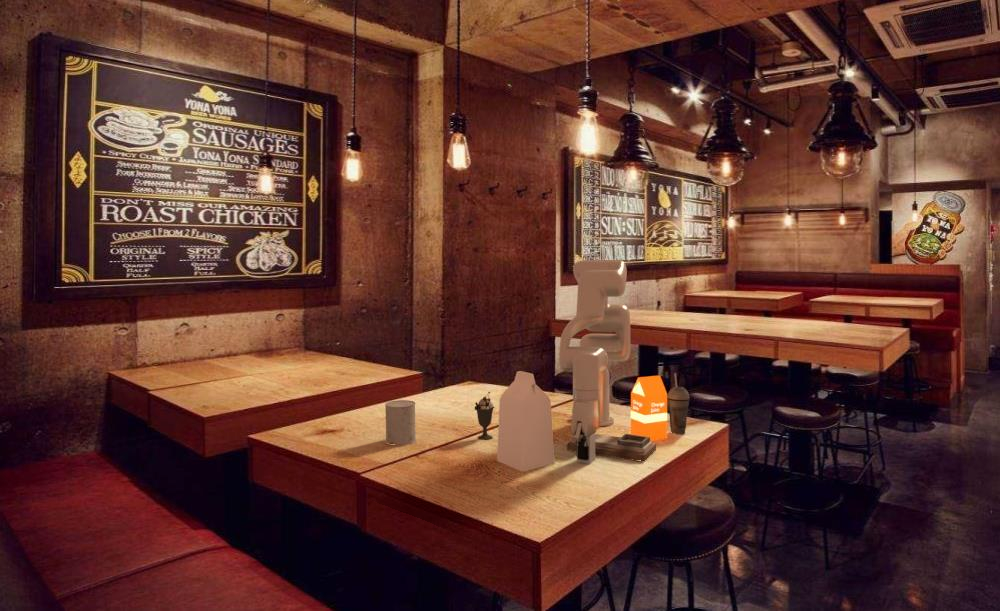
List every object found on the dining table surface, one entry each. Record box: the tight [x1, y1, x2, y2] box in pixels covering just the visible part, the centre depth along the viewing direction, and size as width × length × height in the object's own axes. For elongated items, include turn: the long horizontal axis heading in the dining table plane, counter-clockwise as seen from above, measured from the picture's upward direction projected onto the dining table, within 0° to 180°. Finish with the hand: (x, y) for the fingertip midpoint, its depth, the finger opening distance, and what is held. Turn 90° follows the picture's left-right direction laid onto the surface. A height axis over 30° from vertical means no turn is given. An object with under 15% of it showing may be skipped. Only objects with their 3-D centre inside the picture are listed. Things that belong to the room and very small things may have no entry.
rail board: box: [566, 430, 657, 462], centre depth 192 cm, size 24×12×11 cm, turn 61°
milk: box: [496, 370, 555, 473], centre depth 181 cm, size 12×12×26 cm
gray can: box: [384, 399, 417, 446], centre depth 204 cm, size 10×10×12 cm
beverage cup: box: [667, 372, 690, 435], centre depth 211 cm, size 7×7×20 cm
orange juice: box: [630, 375, 668, 442], centre depth 205 cm, size 8×9×20 cm
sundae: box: [474, 391, 496, 441], centre depth 207 cm, size 7×7×15 cm
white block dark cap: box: [575, 432, 596, 465], centre depth 183 cm, size 4×4×8 cm
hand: (586, 456), depth 183 cm, fingers closed on white block dark cap, 3 cm apart
